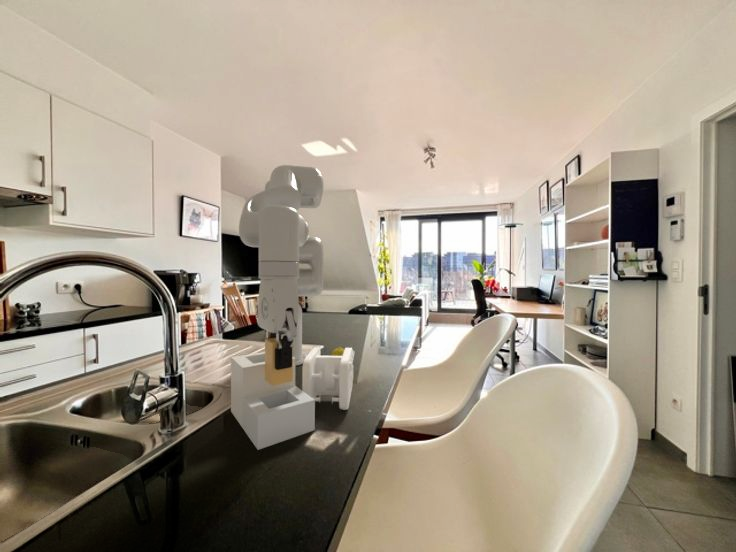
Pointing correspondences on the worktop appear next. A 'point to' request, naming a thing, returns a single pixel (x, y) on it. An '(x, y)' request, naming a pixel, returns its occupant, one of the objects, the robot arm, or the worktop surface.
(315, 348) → the cable organizer
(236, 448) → the worktop surface
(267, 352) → the plug
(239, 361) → the stepped foam insert
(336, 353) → the lemon
